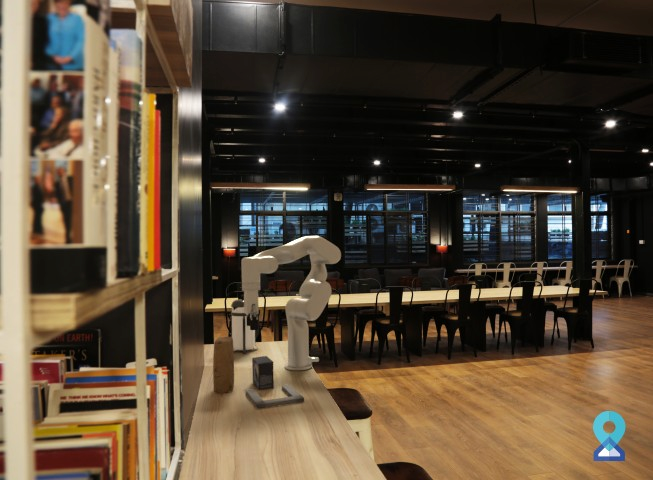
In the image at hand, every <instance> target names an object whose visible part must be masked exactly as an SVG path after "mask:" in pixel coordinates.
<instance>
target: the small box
mask: <svg viewBox="0 0 653 480" xmlns="http://www.w3.org/2000/svg"><path fill="white" fill-rule="evenodd" d="M251 362H252V366H251V367H252V368H251V369H252V383H253V385H254V386H255V387H256V388H257V389H258V391H262V390H269V389H274V388H275V384H274V381H275V380H274V379H275V378H274V361H273V360H272V359H271V358H270V357H268V356H267V355H264V356H263V355H262V356H256V357H252V358H251Z"/></svg>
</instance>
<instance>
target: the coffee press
mask: <svg viewBox="0 0 653 480" xmlns="http://www.w3.org/2000/svg"><path fill="white" fill-rule="evenodd" d="M230 308H231V315H230V316H231V322H230V323H231V327H230V328H231V337H232V338H233V349H234V350H236V351H242V354H243V355H244V354H246V353H247V351H248V350H252V349H253V350H255V351H257V350H258V349H259V348H258V347H257V345H256V339H257V338H258V336H259V335H260V314H259V312H258V314H257V317H258V330H250V326H247V319H246V317H247V315H246V314H245V313H244V294H241V295H240V298H239V299H235V300H233V301H232V303H231V304H230ZM255 346H256V349H255Z"/></svg>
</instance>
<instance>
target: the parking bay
mask: <svg viewBox="0 0 653 480" xmlns="http://www.w3.org/2000/svg"><path fill="white" fill-rule="evenodd" d="M281 390H282V391H283V392H284V393H285V394H286V395H287V397H279V398H273V399H272V398H271V399H266V400H264V399H263V398H262V397H261V396H260V395H259V394H258V392H257V391H256V390H255V389H254V388H253V389H246V390H245V395H246V396H247V398H249V400H250V402H251V403H252V405H254V407H255V408H256V410H259V409H266V407H267V408H272V406H274V407H279V405H281V406H286V405H293V404H300V403H304V402H305V397H304V396H303V395H302V394H301V393H299V391H297V390H296V389H295V388H294V387H293V386H291V385H290V384H283V385H281Z"/></svg>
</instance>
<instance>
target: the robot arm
mask: <svg viewBox="0 0 653 480" xmlns="http://www.w3.org/2000/svg"><path fill="white" fill-rule="evenodd" d="M307 255H309V259H310V264H311V267H310V268H311V269H310V272H309V274H307V276H306V278H305V280H304V281H303V282H302V284H301V286H300V288H299V292H298V294H299V296H300V297H292V298H290V299H288V300H287V301H286V304H285V307H284V308H285V309H284V310H285V316H286V322H287V362H286V363H285V364H284V369H286V370H289V371H306V370H310V369H312V367H313V363H317V362H318V363H319V361H320V358H319V357H318V356H317V357H316V356H309V354H310V350H309V349H310V348H309V346H310V345H309V343H310V341H309V339H310V337H309V336H310V335H309V333H310V332H309V331H310V330H309V324H308V322H307V321H316V320H317V319H318V318H319V317H320V316H321V314H322V313H323V311H324V310H325V308H326V305H327V304H328V302H330V301H329V300H330V298H331V296H332V286H331V285H330V282H328V281H326V280H327V278H328V272H327V271H328V270H327V267H326V265H334V264H337V263H338V262H339V261H340V260H341V259H342V258H341V257H342V252H341V250H340V248H339V247H338V246H336V245H335V244H334V243H332V242H330V241H329V240H327V239H325V238H324V237H322V236H319V235H305V236H302V237H299V238H297V239H294V240H291V241H290V242H288V243H286V244H283V245H280V246H277V247H273V248H270V249H267V250H264V251H261V252H259V253H257V254H254V255H253V256H249V257H248V256H247V257H246V256H245V257H243V258H242V259H241V291H242V292H243V295H244V313H245V314H246V315H247V317H246V319H247V326H250V330H255V331H256V330H258V317H257V314H258V313H259V291H261V274H273V273H275V272H276V271H277V270H278V268H279V265H284V264H290V263H293V262H295V261H297V260H300V259H301V258H303V257H306V256H307Z"/></svg>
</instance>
